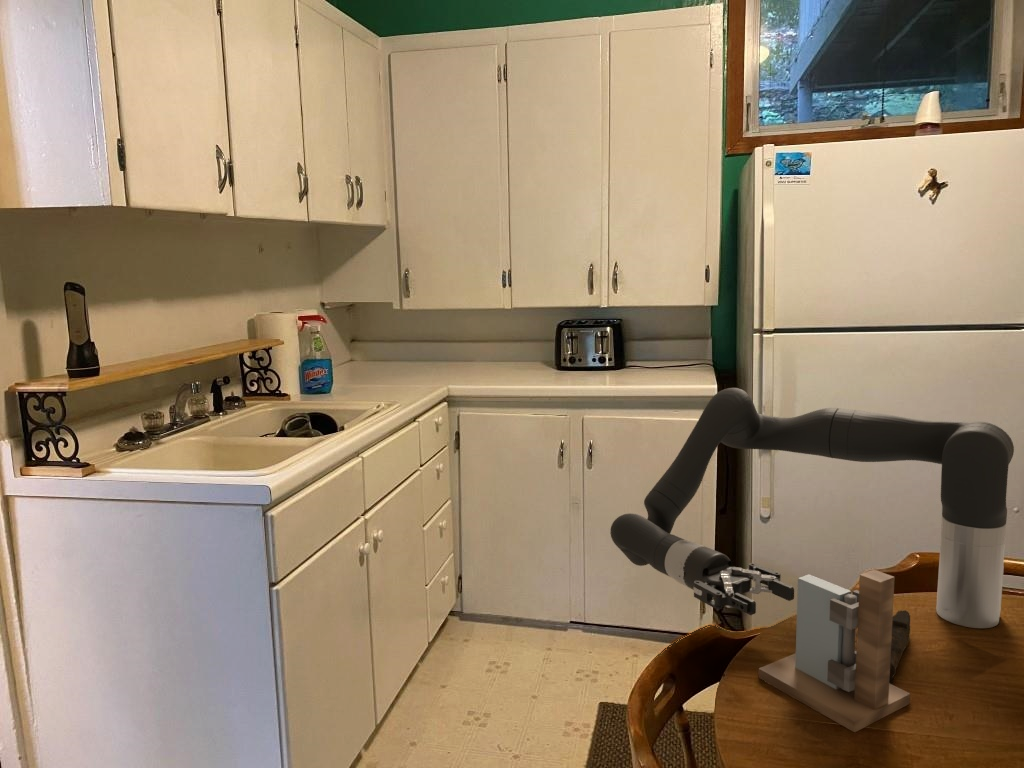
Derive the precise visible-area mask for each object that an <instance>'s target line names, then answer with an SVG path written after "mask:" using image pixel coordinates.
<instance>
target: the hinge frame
mask: <svg viewBox="0 0 1024 768" xmlns="http://www.w3.org/2000/svg"><path fill="white" fill-rule="evenodd" d="M895 579H896V578H895V576H893V575H891V574H887V573H884V572H882V571H879V570H876V569H871V570H869V571H865V572H863V573H861V574H859V583H858V584H859V585H858V586H859V589H855V590H852V593H851V594H852V595H855V596H857V603H855V604H853V605H849V604H847V603H844V602H842V601H839V600H837V599H831V600H830V621H832V622H834V623H837V624H839V625H841V626H843V627H846V628H848V629H850V630H853V629H855V628H856V629H857V630H856V632H857V634H856V649H855V657H854V665H852V666H850V667H847V666H845V665H843V664H840V663H838V662H836V661H834V660H832V659H831V660H829V661H828V675H827V681H828V682H830V683H832V684H834V685H836V686H838V687H840V688H838V689H834V688H833V687H831V686H829V685H827V684H825V683H823V682H821V681H819V680H817V679H816V678H814V677H812V676H810V675H808V674H806V673H804V672H802V671H801V670H799V669H797V668H795V661H796V652H794V653H793V654H791V655H788V656H786V657H783V658H781V659H778V660H776V661H774V662H772V663H769V664H766V665H764V666H761V667H759V668H758V679H760V680H761V679H762V680H761V681H763V680H764V681H763V682H765V681H766V682H765V683H767V684H768V683H769V684H768V685H770V684H771V685H770V686H772V687H774V688H776V689H778V690H780V691H781V692H783V693H784V694H787V695H788V696H790V697H791V698H793V699H794V700H797V701H798V702H800V703H801V704H804V705H805V706H807V707H809V708H811V709H812V710H814V711H816V712H818V713H819V714H821V715H823V716H825V717H827V718H828V719H830V720H832V721H833V722H835V723H837V724H839V725H841V726H842V727H844V728H846V729H848V730H849V731H850V732H853V733H856V732H858V731H860V730H863V729H864V728H866V727H868V726H870V725H871V724H873V723H876V722H877V721H879V720H881V719H883V718H885V717H887V716H889V715H891V714H893V713H894V712H897V711H899V710H900V709H902V708H904V707H907V706H909V705H910V704H911V693H910V692H908V691H906V690H904V689H902V688H899V687H897V686H895V685H893V684H892V683H889V679H890V659H891V639H892V619H893V616H894V615H893V614H894V598H895V597H894V596H895V595H894V594H895ZM841 688H842V689H844V690H846V691H844V690H842V689H841ZM852 690H853V691H852Z"/></svg>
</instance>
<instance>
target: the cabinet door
mask: <svg viewBox="0 0 1024 768" xmlns="http://www.w3.org/2000/svg"><path fill="white" fill-rule="evenodd" d="M852 594H853V593H852V591H851V590H849V589H847V588H844V587H843V586H840V585H837V584H835V583H832V582H829V581H827V580H825V579H822V578H819V577H817V576H814V575H811V574H809V573H808V574H806V575H804V576H800V577H797V598H796V599H797V600H796V601H797V602H796V626H795V627H796V628H795V630H796V631H795V632H796V633H795V653H796V661H795V668H797V669H799V670H801V671H802V672H804V673H806V674H808V675H810V676H812V677H814V678H816V679H817V680H819V681H821V682H823V683H825V684H827V685H829V686H831V687H833V688H834V689H838V688H840V687H838V686H836V685H834V684H832V683H830V682H828V681H827V675H828V661H829V660H831V659H832V660H834V661H836V662H838V663H840V664H843V665H845V666H847V667H850V666H852V665H854V657H855V650H856V632H857V630H856V629H857V628H855V629H853V630H850V629H848V628H846V627H843V626H841V625H839V624H837V623H834V622H832V621H830V600H831V599H837V600H839V601H842V602H844V603H847V604H849V605H853V604H855V603H857V596H855V595H852ZM841 689H842V688H841ZM842 690H844V689H842ZM844 691H846V690H844ZM852 691H853V690H852Z"/></svg>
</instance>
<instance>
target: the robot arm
mask: <svg viewBox="0 0 1024 768" xmlns="http://www.w3.org/2000/svg"><path fill="white" fill-rule="evenodd" d="M756 409H757V408H756V406H755V404H754V402H753V400H752V398H751V396H750V395H749V394H748V393H747V392H746V391H745V390H743V389H741V388H738V387H728V388H724V389H722V390H719V391H718V392H717V393H716V394H714V395H713V396H712V398H710V400H709V401H708V402H707V405H706V406H705V407H704V409H703V411H702V412H701V415H700V416H699V419H698V420H697V422H696V424H695V425H694V427H693V429H692V431H691V432H690V434H689V435H688V438H687V439H686V441H685V442H684V444H683V446H682V447H681V449H680V451H679V452H678V454H677V455H676V457H675V459H674V460H673V461H672V463H671V464H670V465H669V467H668V468H667V469H666V471H665V472H664V473H663V475H661V477H660V478H659V480H657V482H656V483H655V485H654V486H653V487H652V488H651V490H650V491H649V492H648V493H647V494H646V496H645V498H644V501H643V502H644V503H643V505H644V507H645V509H646V512H647V518H645V517H644V516H642V515H639V514H637V513H624V514H622V515H619V516H618V517H616V518H615V519H614V520H613V522H612V523H611V527H610V538H611V540H612V542H613V544H614V545H615V546H616V547H617V548H618V550H620V551H621V553H623V555H624V556H625V557H626V558H627V559H628V560H629V561H630V562H631V563H633V564H634V565H636V566H640V567H642V566H647V565H650V566H651V567H652V568H653V569H655V570H656V571H658V572H660V573H661V574H664V575H666V576H667V577H669V578H672V579H673V580H674V581H676V582H677V583H679V584H681V585H683V586H685V587H686V588H688V589H691V590H693V597H694V598H695V599H697V600H699V601H700V602H702V603H704V604H707V605H708V606H710V607H712V608H713V609H715V610H722V609H723V607H726V608H728V609H733V608H734V609H737V610H738V611H740V612H743V613H745V614H747V615H749V616H753V615H755V614H756V612H757V611H756V610H757V603H756V602H755V600H754V599H752V598H749V597H748V596H746V595H743V594H746V593H747V594H754V595H759V594H761V592H762V593H763V592H764V593H771V594H772V595H774V596H777V597H779V598H781V599H784V600H786V601H788V602H790V601H793V600H794V599H795V588H794V587H793V586H792V585H789V584H787V583H785V582H782V581H781V577H782V576H781V574H782V573H781V572H779V571H777V570H774V569H771V568H768V567H766V566H763V565H760V564H757V563H755V562H750V563H749V564H748V568H742V567H737V566H735V565H734V564H733V562H732V561H731V559H730V558H729V557H728V556H727V555H726V554H724V553H722V552H720V551H717V550H715V549H712V548H710V547H708V546H705V545H702V544H700V543H697V542H695V541H691V540H686V539H684V538H682V537H679V536H677V535H674V534H671V533H672V530H673V528H674V525H675V523H676V521H677V518H678V517H679V516H680V515H681V514H682V512H683V511H684V510H685V509H686V507H687V506H688V505H689V503H690V502H691V501H692V499H693V498H694V497H695V496H696V493H697V492H698V489H699V488H700V486H701V484H702V481H703V479H704V476H705V473H706V471H707V469H708V465H709V464H710V461H711V458H712V457H713V455H714V453H715V451H716V450H717V448H718V446H719V445H720V443H721V444H723V445H725V446H727V447H729V448H733V449H742V450H743V449H745V450H764V451H765V450H766V451H767V450H768V451H782V452H789V453H796V454H803V455H812V456H819V457H824V458H828V459H829V458H831V459H836V460H842V461H850V462H861V463H881V462H882V463H883V462H884V463H885V462H887V463H888V462H900V461H917V462H918V461H920V462H928V463H934V464H939V465H941V474H940V502H941V506H942V507H941V527H940V529H941V530H940V545H939V560H938V561H939V562H938V563H939V564H938V575H937V576H938V577H937V578H938V579H937V589H936V590H937V591H936V593H937V594H936V609H935V610H936V613H937V615H938V616H939V617H940V618H942V619H943V620H945V621H947V622H949V623H952V624H955V625H958V626H962V627H965V628H966V627H968V628H971V629H972V628H973V629H988V628H989V629H990V628H993V627H995V626H997V625H998V624H999V623H1000V617H1001V607H1002V595H1003V584H1004V583H1003V582H1004V569H1005V568H1004V566H1005V564H1004V562H1005V561H1004V560H1005V546H1006V533H1007V520H1008V517H1007V516H1008V508H1007V490H1008V489H1007V488H1008V477H1009V475H1008V474H1009V465H1010V463H1011V461H1012V459H1013V457H1014V452H1015V446H1014V443H1013V440H1012V438H1011V437H1010V435H1009V434H1008V433H1007V432H1006V431H1005V430H1004V429H1003V428H1001V427H999V426H998V425H996V424H993V423H989V422H986V421H975V420H974V421H971V420H969V421H966V420H965V421H964V420H963V421H959V420H957V421H956V420H955V421H954V420H953V421H952V420H925V419H923V420H922V419H915V418H911V417H910V418H909V417H905V416H904V417H903V416H899V415H891V414H885V413H878V412H871V411H865V410H856V409H850V408H849V409H846V408H839V407H838V408H836V407H827V408H820V409H817V410H813V411H810V412H807V413H804V414H801V415H798V416H794V417H793V416H792V417H780V416H773V415H772V416H771V415H765V414H761V413H759V412H757V410H756ZM752 582H754V584H755V585H754V587H752Z"/></svg>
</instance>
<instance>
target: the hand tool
mask: <svg viewBox="0 0 1024 768" xmlns="http://www.w3.org/2000/svg"><path fill="white" fill-rule="evenodd" d="M910 633H911V615H910V613H909V611H907V610H905V609H904V610H898V611H897V612H896V613H895V615H893V619H892V639H891V659H890V679H889V683H890V684H892V683H893V681H894V676H895V675H896V672H897V671H896V668H897V667H898V665H899V663H900V661H901V657H902V655H903V652H904V650H905V649H906V648H907V647H908V644H909V642H910V641H909V640H910Z"/></svg>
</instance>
